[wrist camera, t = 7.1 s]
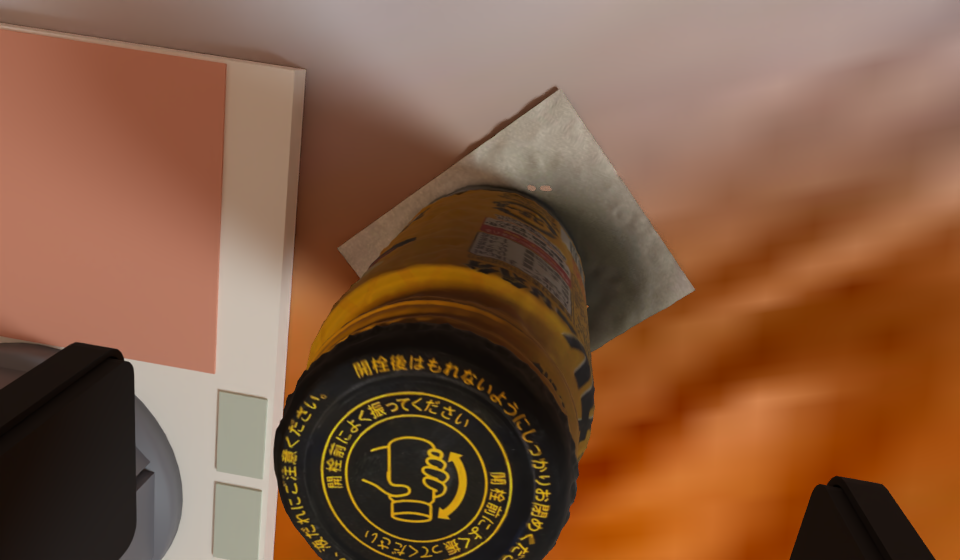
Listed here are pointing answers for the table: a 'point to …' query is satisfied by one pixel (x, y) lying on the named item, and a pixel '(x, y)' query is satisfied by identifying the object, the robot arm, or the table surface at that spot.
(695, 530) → the table surface
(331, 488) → the condiment
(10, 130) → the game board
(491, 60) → the table surface
